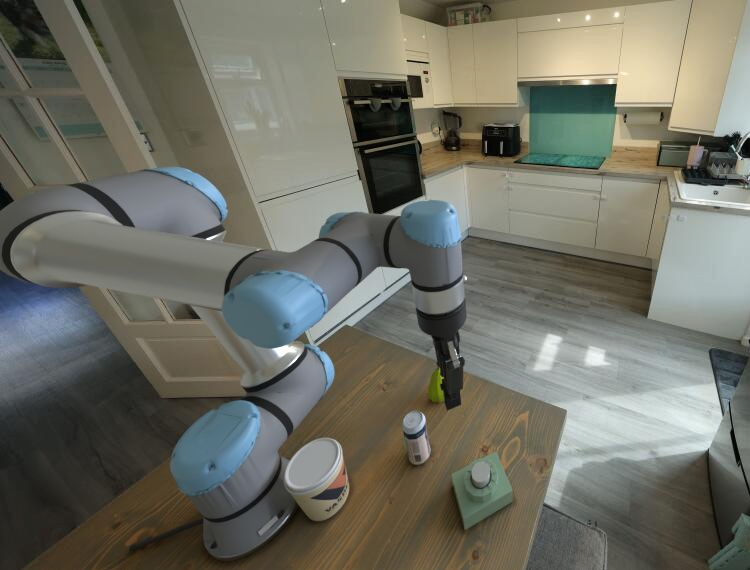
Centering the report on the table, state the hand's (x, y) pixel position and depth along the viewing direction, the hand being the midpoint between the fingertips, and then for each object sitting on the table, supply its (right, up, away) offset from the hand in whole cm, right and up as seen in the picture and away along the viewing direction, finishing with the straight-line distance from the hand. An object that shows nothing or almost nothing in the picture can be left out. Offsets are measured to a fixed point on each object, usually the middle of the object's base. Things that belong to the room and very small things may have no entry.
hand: (453, 404), depth 57 cm
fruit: (-8, -13, +25) cm, 29 cm away
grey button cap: (+5, -16, +3) cm, 17 cm away
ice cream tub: (-26, -22, +5) cm, 34 cm away
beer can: (-10, -18, +12) cm, 24 cm away
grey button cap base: (+5, -21, +6) cm, 23 cm away
